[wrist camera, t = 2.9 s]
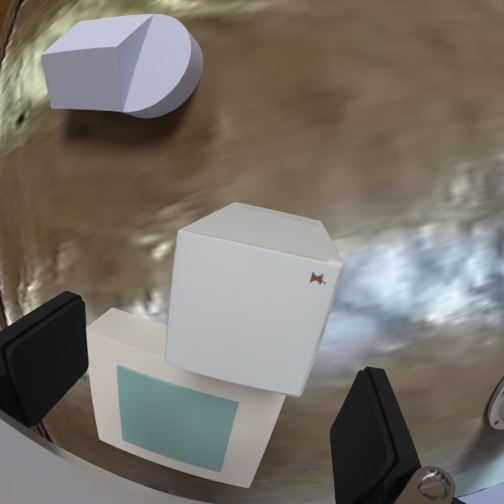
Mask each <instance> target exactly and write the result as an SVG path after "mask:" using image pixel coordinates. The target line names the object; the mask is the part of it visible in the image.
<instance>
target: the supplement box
mask: <svg viewBox="0 0 504 504" xmlns="http://www.w3.org/2000/svg"><path fill="white" fill-rule="evenodd" d="M343 269H344V263H343V261H342V259H341V257H340V255H339V253H338V251H337V249H336V248H335V246H334V244H333V242H332V240H331V238H330V236H329V235H328V233H327V231H326V229H325V227H324V226H323V224H322V222H321V221H318V220H314V219H310V218H305V217H301V216H297V215H293V214H288V213H284V212H280V211H275V210H271V209H266V208H261V207H257V206H252V205H247V204H242V203H237V202H234V203H232V204H230V205H228V206H226V207H224V208H222V209H220V210H218V211H216V212H214V213H212V214H210V215H208V216H206V217H204V218H202V219H200V220H198V221H196V222H194V223H192V224H190V225H188V226H186V227H184V228H182V229H180V230H178V234H177V240H176V247H175V255H174V262H173V270H172V279H171V289H170V299H169V309H168V321H167V334H166V350H165V363H166V364H168V365H171V366H174V367H177V368H180V369H184V370H187V371H190V372H194V373H197V374H201V375H205V376H208V377H212V378H216V379H219V380H223V381H227V382H231V383H236V384H240V385H245V386H249V387H253V388H257V389H261V390H265V391H269V392H274V393H278V394H283V395H288V396H293V397H300V396H301V394H302V393H303V390H304V387H305V385H306V382H307V379H308V376H309V374H310V371H311V368H312V365H313V363H314V360H315V357H316V354H317V351H318V348H319V346H320V343H321V340H322V338H323V335H324V332H325V328H326V324H327V321H328V318H329V315H330V311H331V308H332V305H333V302H334V299H335V296H336V292H337V289H338V285H339V282H340V279H341V275H342V272H343Z"/></svg>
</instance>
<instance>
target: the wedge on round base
mask: <svg viewBox="0 0 504 504" xmlns="http://www.w3.org/2000/svg"><path fill="white" fill-rule="evenodd" d="M41 56H42V62H43V68H44V74H45V79H46V84H47V89H48V94H49V99H50V103H51V107H52V109H87V110H104V111H118V112H122V113H126V114H129V115H132V116H135V117H139V118H155V117H159V116H162V115H165V114H167V113H169V112H171V111H173V110H175V109H176V108H177V107H179V106H180V105H181V104H183V103H184V102H185V101H186V100H187V99H188V98H189V97H190V95H191V94H192V93H193V91H194V90H195V88H196V86H197V85H198V82H199V80H200V78H201V74H202V70H203V56H202V52H201V49H200V47H199V45H198V43H197V42H196V41H195V39H194V38H193V37H192V36H191V34H190V33H189V32H188V31H187V29H186V28H185V27H184V26H183V25H182V24H181V23H180V22H179V21H178V20H176V19H174V18H173V17H170V16H167V15H162V14H145V15H130V16H119V17H110V18H102V19H95V20H88V21H82V22H79V23H77V24H76V25H75V26H74V27H72V28H71V29H70V30H69V31H67V32H66V33H65V34H64V35H63V36H62V37H60V38H59V39H58V40H57V41H56V42H55V43H54V44H53V45H51V46H50V47H49V48H48V49H47V50H46V51H45V52H44V53H43V54H42V55H41Z"/></svg>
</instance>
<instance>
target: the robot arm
mask: <svg viewBox="0 0 504 504" xmlns="http://www.w3.org/2000/svg"><path fill="white" fill-rule="evenodd" d="M88 366H89V358H88V347H87V333H86V314H85V303H84V301H82V298H81V296H80V295H77V294H74V293H72V292H69V291H65V292H63V293H61V294H59V295H58V296H56V297H54V298H53V299H51V300H50V301H48V302H46V303H45V304H43V305H41V306H40V307H38V308H36V309H35V310H33V311H32V312H30V313H28V314H27V315H25V316H24V317H22V318H21V319H19V320H17V321H16V322H14V323H13V324H11V325H10V326H8V327H6V328H5V329H3V330H2V331H0V504H201V503H197V502H193V501H189V500H186V499H182V498H179V497H176V496H172V495H169V494H166V493H163V492H160V491H157V490H154V489H151V488H148V487H145V486H143V485H140V484H137V483H135V482H132V481H130V480H127V479H125V478H122V477H120V476H117V475H115V474H113V473H110V472H108V471H106V470H104V469H101V468H99V467H97V466H95V465H93V464H91V463H89V462H87V461H85V460H83V459H81V458H79V457H77V456H75V455H73V454H71V453H69V452H67V451H65V450H63V449H62V448H60V447H58V446H56V445H54V444H53V443H51V442H49V441H48V440H46V439H44V438H43V437H41V436H39V435H38V434H36V433H34V432H33V431H31V430H30V427H31V426H36V425H37V424H38V423H39V422H40V421H41V420H42V419H43V418H44V416H45V415H46V414H47V413H48V412H49V411H50V410H51V409H52V408H53V407H54V406H55V404H56V403H57V402H58V401H59V400H60V399H61V398H62V397H63V396H64V395H65V394H66V393H67V391H68V390H69V389H70V388H71V387H72V386H73V385H74V384H75V383H76V382H77V381H78V380H79V379H80V378H81V377H82V376H83V374H84V373H85V372H86V371H87V369H88ZM487 417H488V421H489V423H490V424H491V426H492V427H493V428H495V429H499V430H501V429H504V379H503V380H502V382H501V383H500V385H499V386H498V388H497V389H496V391H495V393H494V395H493V397H492V399H491V401H490V404H489V407H488V412H487ZM330 443H331V453H332V464H333V475H334V487H335V500H336V504H466V503H464V502H462V501H460V500H458V499H457V498H455V497H454V494H455V483H454V481H453V479H452V477H451V476H450V475H449V474H448V473H447V472H446V471H444V470H443V469H441V468H438V467H434V466H426V467H421V464H420V461H419V458H418V455H417V452H416V449H415V447H414V444H413V441H412V438H411V436H410V433H409V430H408V428H407V425H406V423H405V420H404V417H403V415H402V412H401V410H400V407H399V405H398V402H397V400H396V397H395V395H394V392H393V390H392V387H391V385H390V383H389V380H388V378H387V375H386V373H385V371H384V369H381V368H374V367H366V368H365V369H364V371H363V370H360V371H359V372H358V374H357V376H356V378H355V380H354V382H353V385H352V387H351V389H350V391H349V393H348V395H347V397H346V399H345V401H344V403H343V405H342V408H341V410H340V412H339V413H338V415H337V417H336V419H335V421H334V423H333V425H332V427H331V430H330Z"/></svg>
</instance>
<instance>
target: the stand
mask: <svg viewBox="0 0 504 504" xmlns="http://www.w3.org/2000/svg"><path fill="white" fill-rule="evenodd" d="M86 333H87V347H88V358H89V366H88V368H89V377H90V385H91V393H92V400H93V406H94V412H95V418H96V424H97V429H98V434H99V439H100V440H102V441H104V442H107V443H109V444H111V445H113V446H115V447H118V448H120V449H122V450H125V451H127V452H130V453H132V454H134V455H137V456H139V457H142V458H145V459H147V460H150V461H153V462H155V463H158V464H161V465H164V466H167V467H170V468H173V469H176V470H179V471H182V472H185V473H189V474H192V475H196V476H199V477H203V478H206V479H210V480H214V481H218V482H222V483H226V484H231V485H235V486H240V487H245V488H249V487H250V485H251V482H252V480H253V478H254V475H255V473H256V471H257V468H258V466H259V463H260V461H261V459H262V456H263V454H264V451H265V449H266V446H267V444H268V441H269V439H270V436H271V434H272V431H273V428H274V426H275V423H276V420H277V418H278V415H279V412H280V410H281V407H282V404H283V401H284V399H285V396H286V395H283V394H278V393H274V392H269V391H265V390H261V389H257V388H253V387H249V386H245V385H240V384H236V383H231V382H227V381H223V380H219V379H216V378H212V377H208V376H205V375H201V374H197V373H194V372H190V371H187V370H184V369H180V368H177V367H174V366H171V365H168V364H166V363H165V350H166V334H167V325H165V324H161V323H158V322H155V321H152V320H148V319H145V318H142V317H139V316H136V315H133V314H130V313H127V312H124V311H121V310H118V309H115V308H111V309H110V310H108V311H107V312H106V313H105V314H103V315H102V316H101V317H99V318H98V319H97V320H95V321H94V322H93V323H92V324H90V325H89V326H88V327H86Z"/></svg>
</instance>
